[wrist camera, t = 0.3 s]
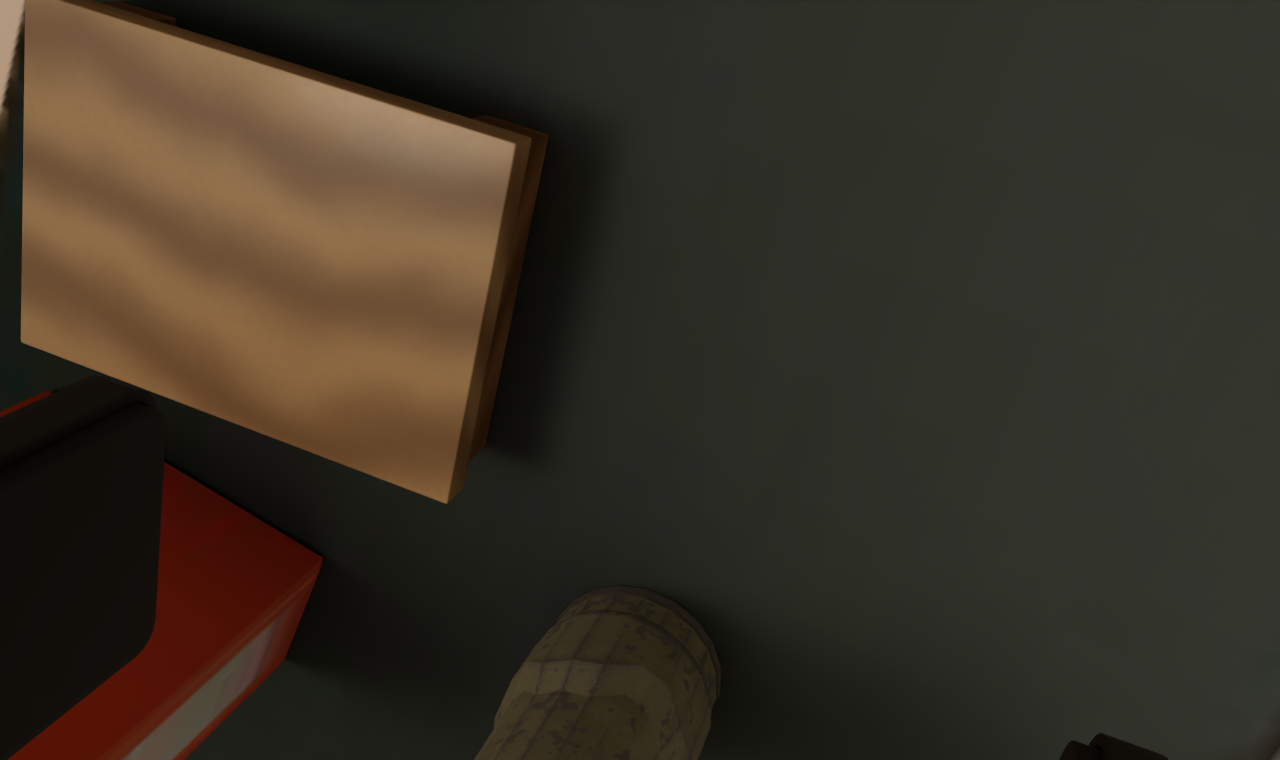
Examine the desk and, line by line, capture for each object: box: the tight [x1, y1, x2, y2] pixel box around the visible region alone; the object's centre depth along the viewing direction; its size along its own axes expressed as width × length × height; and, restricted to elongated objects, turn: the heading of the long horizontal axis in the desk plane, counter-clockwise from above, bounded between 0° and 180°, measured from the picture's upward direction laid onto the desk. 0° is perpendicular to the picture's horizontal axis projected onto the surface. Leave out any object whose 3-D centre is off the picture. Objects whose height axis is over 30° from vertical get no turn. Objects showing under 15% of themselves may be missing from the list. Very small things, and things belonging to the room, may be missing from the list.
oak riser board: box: [21, 0, 549, 504], centre depth 50 cm, size 16×22×5 cm
